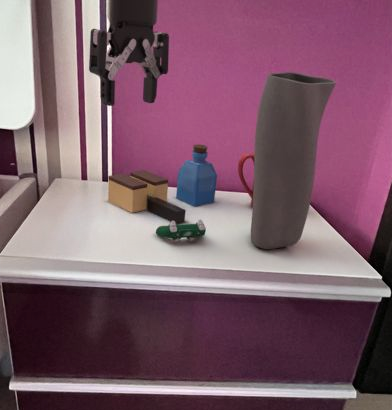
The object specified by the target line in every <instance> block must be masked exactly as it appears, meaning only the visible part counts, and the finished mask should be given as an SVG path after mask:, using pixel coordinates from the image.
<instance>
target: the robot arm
mask: <svg viewBox="0 0 392 410" xmlns="http://www.w3.org/2000/svg"><path fill="white" fill-rule="evenodd" d="M158 3H159V0H106V18H107V20H108V23H109V25H108V29H107V31H106V30H103V29H97V28H92V29H90V30H91V31H90V34H89V35H90V36H89V61H88V70H89V72H90V73H91V74H93V75H96V76H98V77H99V80H100V89H99V90H100V91H99V95H100V96H99V97H100V100H101V102H102V104H103V105H104V106H105V105H106V106H108V107H114V106H115V100H116V97H115V96H116V80H114V79H115V77H116V76H117V74H118V72H119V70H120V69H122V68H123V67H124V65H125V64H133V63H136V64H138V65H139V66H140V67H141V69H142V71H143V73H144V75H145V76H144V77H143V89H142V101H143V102H144V103H147V104H154V103H155V100H156V98H157V91H158V90H157V89H158V79H159V78H160V76H162V75H167V74H168V72H169V55H170V54H169V53H170V52H169V49H170V36H169V34H168V33H167V32H164V31H157V30H155V31H154V26H155V25H156V24H157V21H158V7H159V6H158ZM108 46H109V47H108ZM152 48H153V50H152ZM107 49H108V50H107Z"/></svg>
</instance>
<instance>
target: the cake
mask: <svg viewBox="0 0 392 410" xmlns="http://www.w3.org/2000/svg"><path fill="white" fill-rule="evenodd" d="M129 174H130V175H128V174H125V173H117V174H112V175H108V180H107V181H108V183H107V184H108V185H107V186H108V187H107V189H108V190H107V200H108V201H107V202H108V203H110V204H112V205H114V206H117V207H118V208H120V209H123V210H125V211H127V212H129V213H131V214H133V213H137V212H142V211H147V208H146V204H147V194H149V195H152V196H153V198H154V197H157V198H159V199H162V200H164V201H166V202H168V190H169V179H167V178H166V177H162V176H161V175H158V174H155V173H152V172H150V171H148V170H145V169H142V170H136V171H131V172H129Z"/></svg>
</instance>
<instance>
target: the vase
mask: <svg viewBox="0 0 392 410" xmlns="http://www.w3.org/2000/svg"><path fill="white" fill-rule="evenodd" d="M336 85H337V81H336V80H334V79H330V78H326V77H320V76H313V75H310V74H309V75H308V74H304V73H299V72H293V71H285V72H283V71H282V72H270V73H268V74H267V77H266V80H265V83H264V86H263V90H262V93H261V97H260V101H259V105H258V110H257V116H256V124H255V135H254V155H255V157H254V162H253V182H254V192H253V207H252V211H251V223H250V240H251V243H252V245H254V246H255V247H257V248H259V249H262V250H275V249H279V248H287V247H291V246H293V245H295V244H297V243H298V242H299V241H300V240H301V238H302V236H303V232H304V229H305V225H306V223H307V222H306V221H307V217H308V213H309V210H310V205H311V200H312V196H313V189H314V182H315V175H316V174H315V173H316V165H317V151H318V142H319V133H320V127H321V123H322V119H323V116H324V113H325V111H326V107H327V105H328V102H329V100H330V99H331V98H330V97H331V95H332V94H333V91H334V89H335V87H336Z"/></svg>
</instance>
